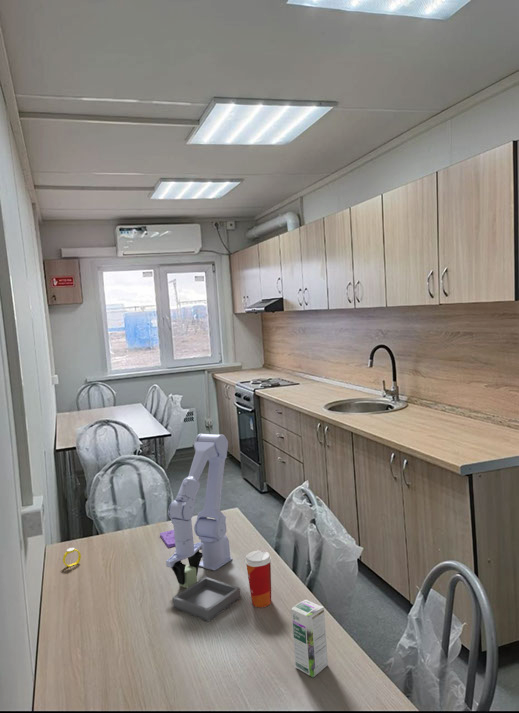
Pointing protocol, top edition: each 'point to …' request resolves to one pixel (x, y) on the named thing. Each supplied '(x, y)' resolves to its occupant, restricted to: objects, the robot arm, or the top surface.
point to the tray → (206, 598)
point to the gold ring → (71, 552)
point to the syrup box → (309, 637)
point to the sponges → (168, 538)
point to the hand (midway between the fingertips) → (187, 579)
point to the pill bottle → (259, 577)
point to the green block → (189, 576)
